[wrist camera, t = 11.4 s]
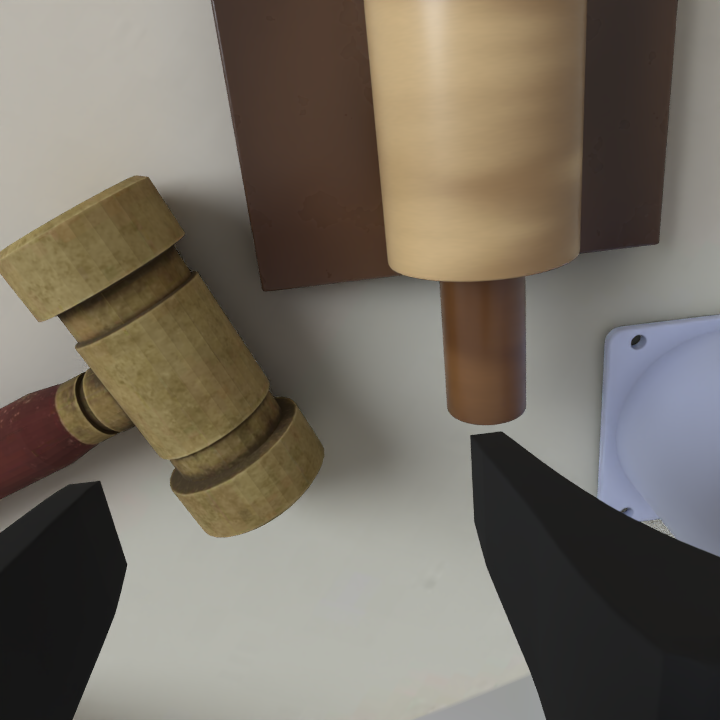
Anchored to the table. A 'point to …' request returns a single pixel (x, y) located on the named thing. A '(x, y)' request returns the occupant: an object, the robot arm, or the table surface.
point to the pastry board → (359, 144)
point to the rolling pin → (480, 170)
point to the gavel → (150, 367)
